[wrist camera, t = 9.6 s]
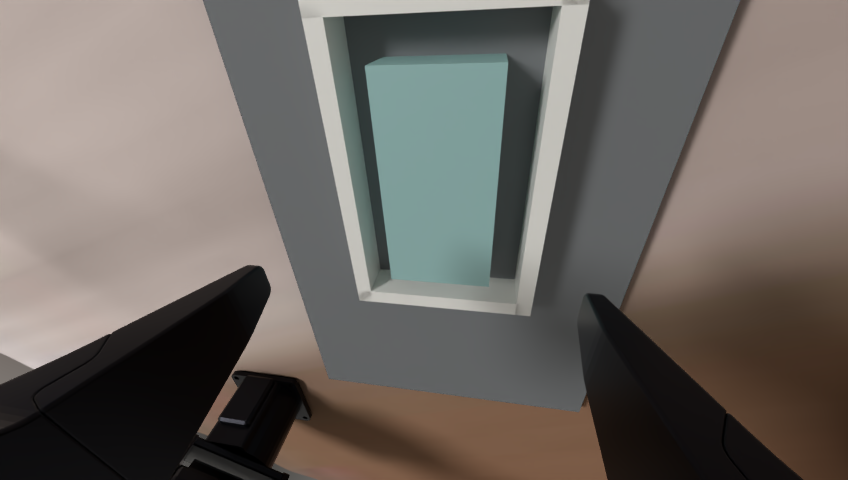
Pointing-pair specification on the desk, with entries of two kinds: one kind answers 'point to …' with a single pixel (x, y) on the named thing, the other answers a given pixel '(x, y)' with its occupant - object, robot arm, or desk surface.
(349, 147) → the tray frame
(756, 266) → the desk surface
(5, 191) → the desk surface
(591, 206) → the mat
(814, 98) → the desk surface
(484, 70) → the tile
